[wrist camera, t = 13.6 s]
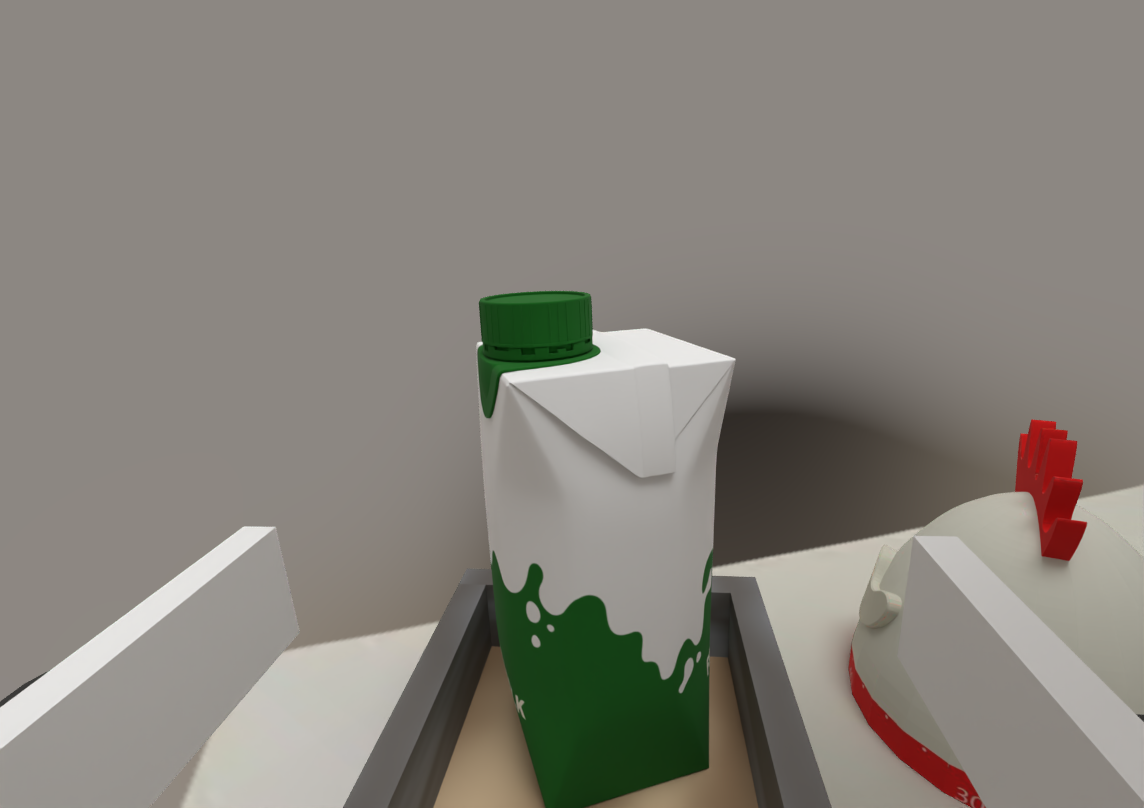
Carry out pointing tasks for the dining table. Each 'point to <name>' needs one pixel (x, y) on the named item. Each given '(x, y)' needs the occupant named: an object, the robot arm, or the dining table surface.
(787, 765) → the dock
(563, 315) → the soya milk
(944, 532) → the kitchen timer
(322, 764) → the dining table surface
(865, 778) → the dining table surface
